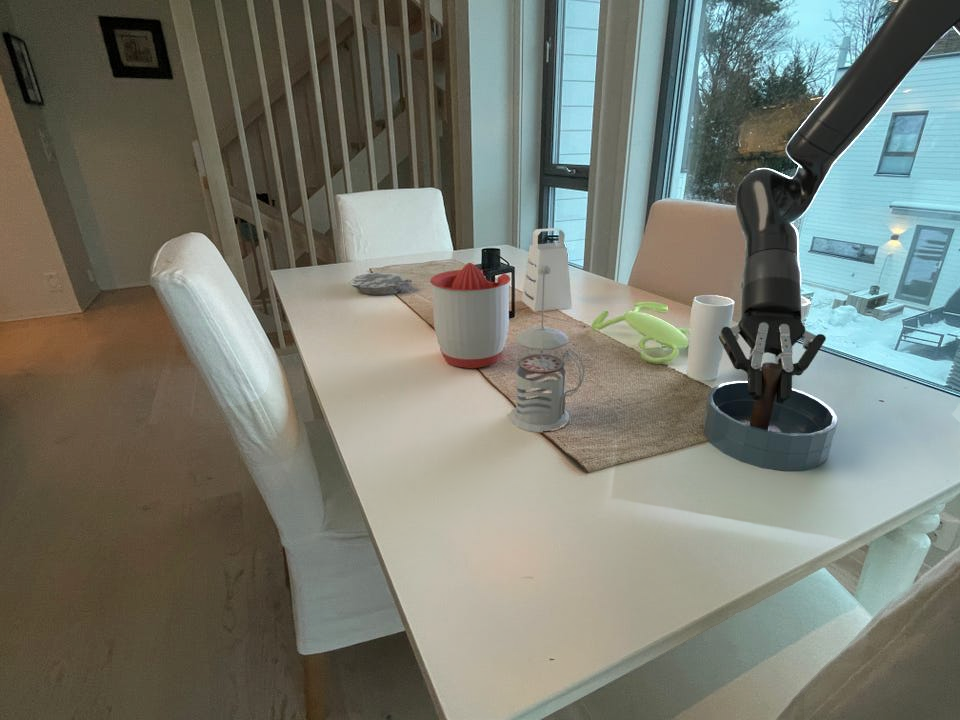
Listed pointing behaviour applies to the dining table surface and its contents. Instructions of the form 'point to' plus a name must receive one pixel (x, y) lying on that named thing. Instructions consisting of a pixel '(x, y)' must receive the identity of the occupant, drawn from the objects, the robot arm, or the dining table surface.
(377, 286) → the brain slice
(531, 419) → the french press
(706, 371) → the drinking glass
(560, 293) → the grater
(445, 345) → the citrus juicer
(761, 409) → the stirring muddler
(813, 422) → the bowl
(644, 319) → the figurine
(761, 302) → the robot arm
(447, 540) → the dining table surface
